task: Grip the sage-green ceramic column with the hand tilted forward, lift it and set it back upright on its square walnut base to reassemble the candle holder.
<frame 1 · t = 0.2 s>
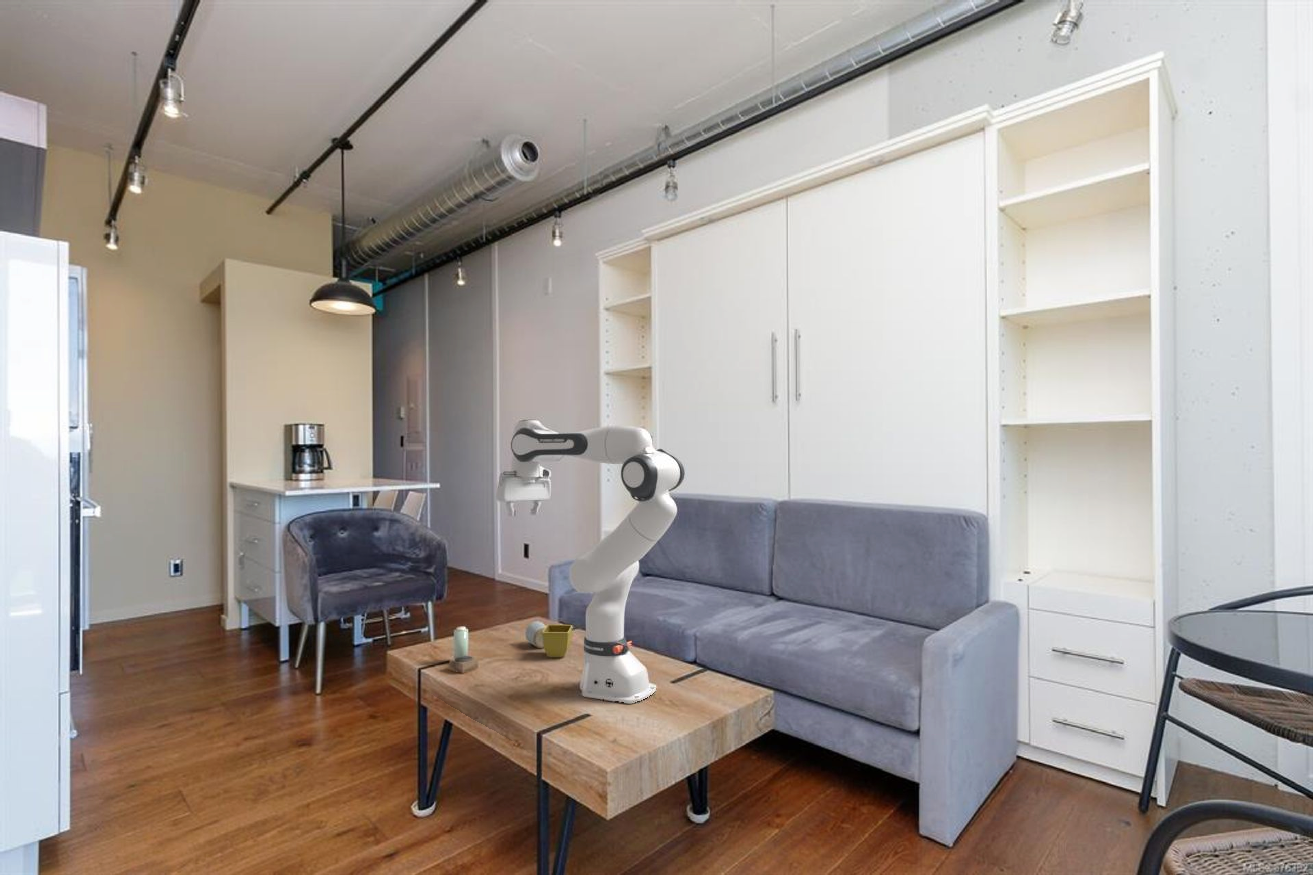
hand: (523, 515, 202), 48 cm above the table, tool pointing down, fingers open, 8 cm apart
column: (460, 661, 207), on the table
ceramic mug: (542, 645, 225), on the table
base: (463, 669, 200), on the table
flower pot: (557, 656, 214), on the table
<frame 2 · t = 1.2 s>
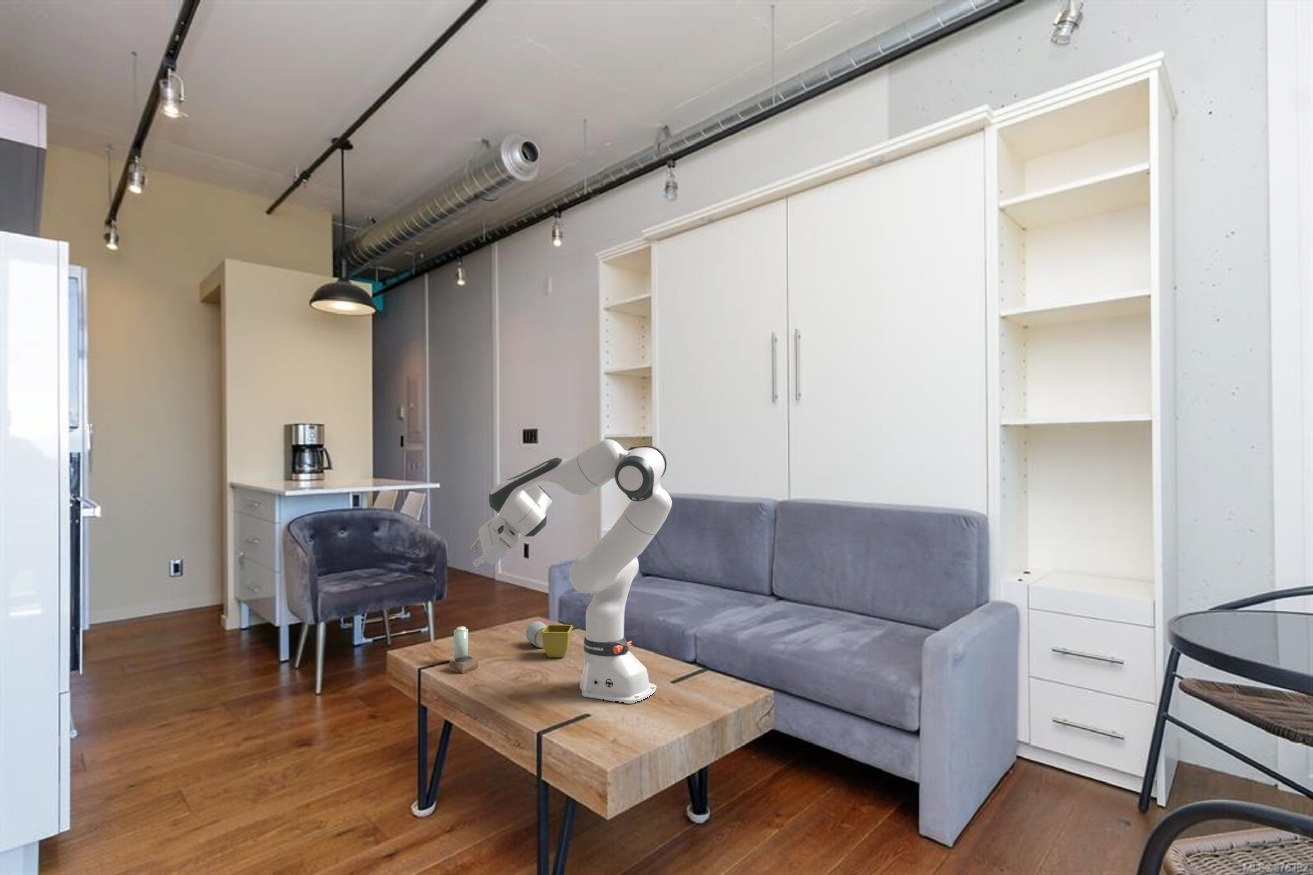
hand: (472, 557, 198), 35 cm above the table, tool tilted 50°, fingers open, 8 cm apart
nothing on the table moved.
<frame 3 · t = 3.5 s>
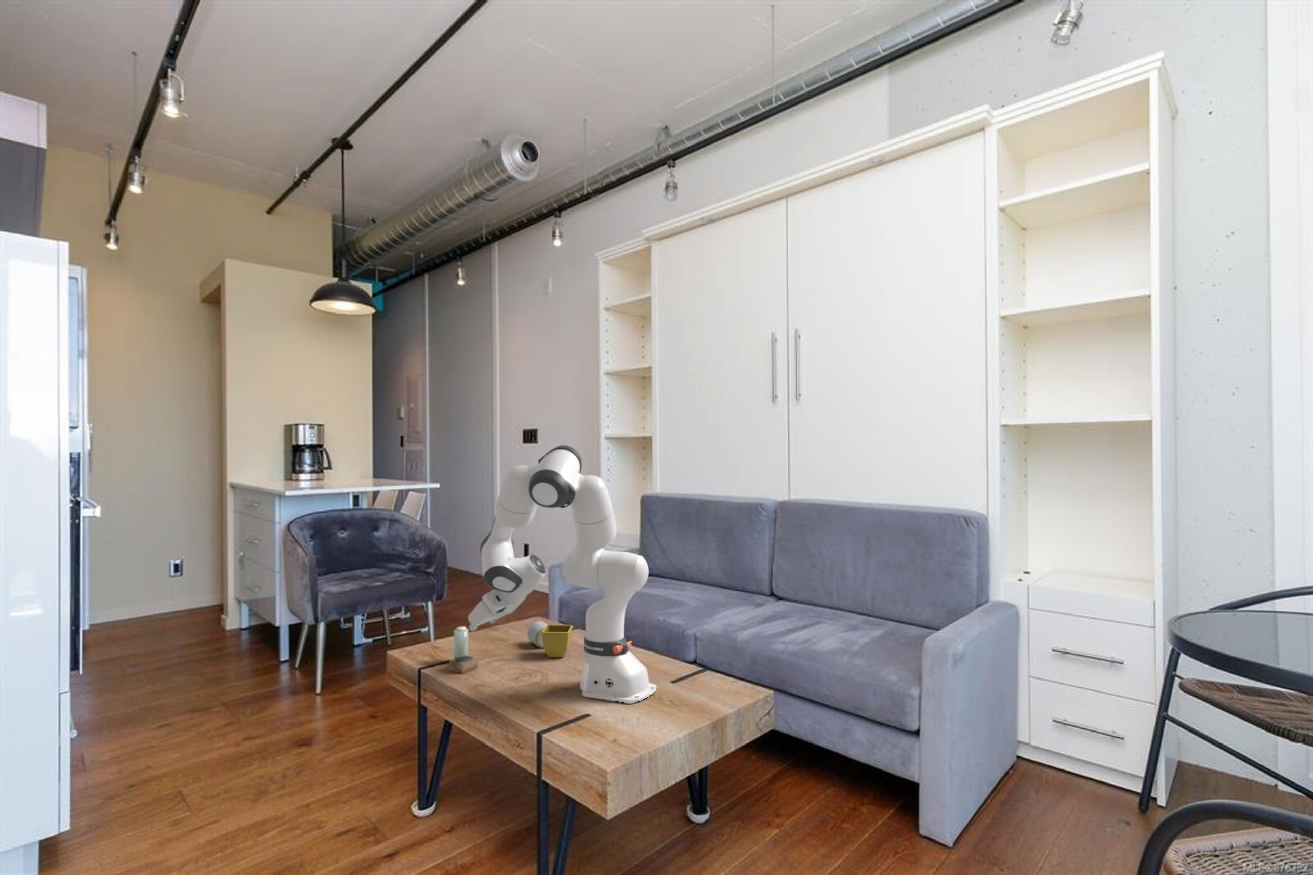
hand: (481, 625, 203), 13 cm above the table, tool tilted 45°, fingers open, 8 cm apart
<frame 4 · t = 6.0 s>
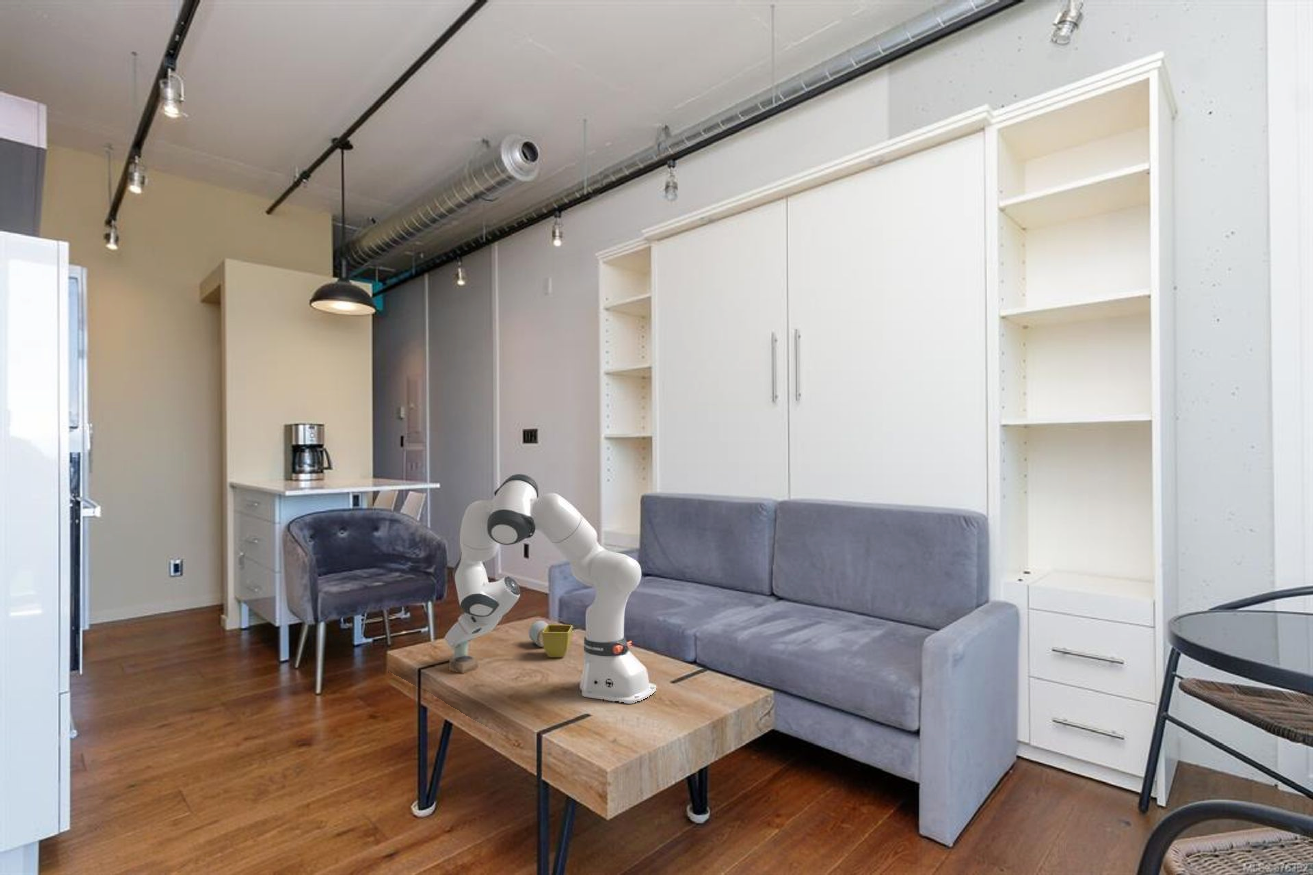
hand: (459, 644, 208), 5 cm above the table, tool tilted 45°, fingers closed on column, 4 cm apart
column: (460, 661, 207), on the table, touching gripper
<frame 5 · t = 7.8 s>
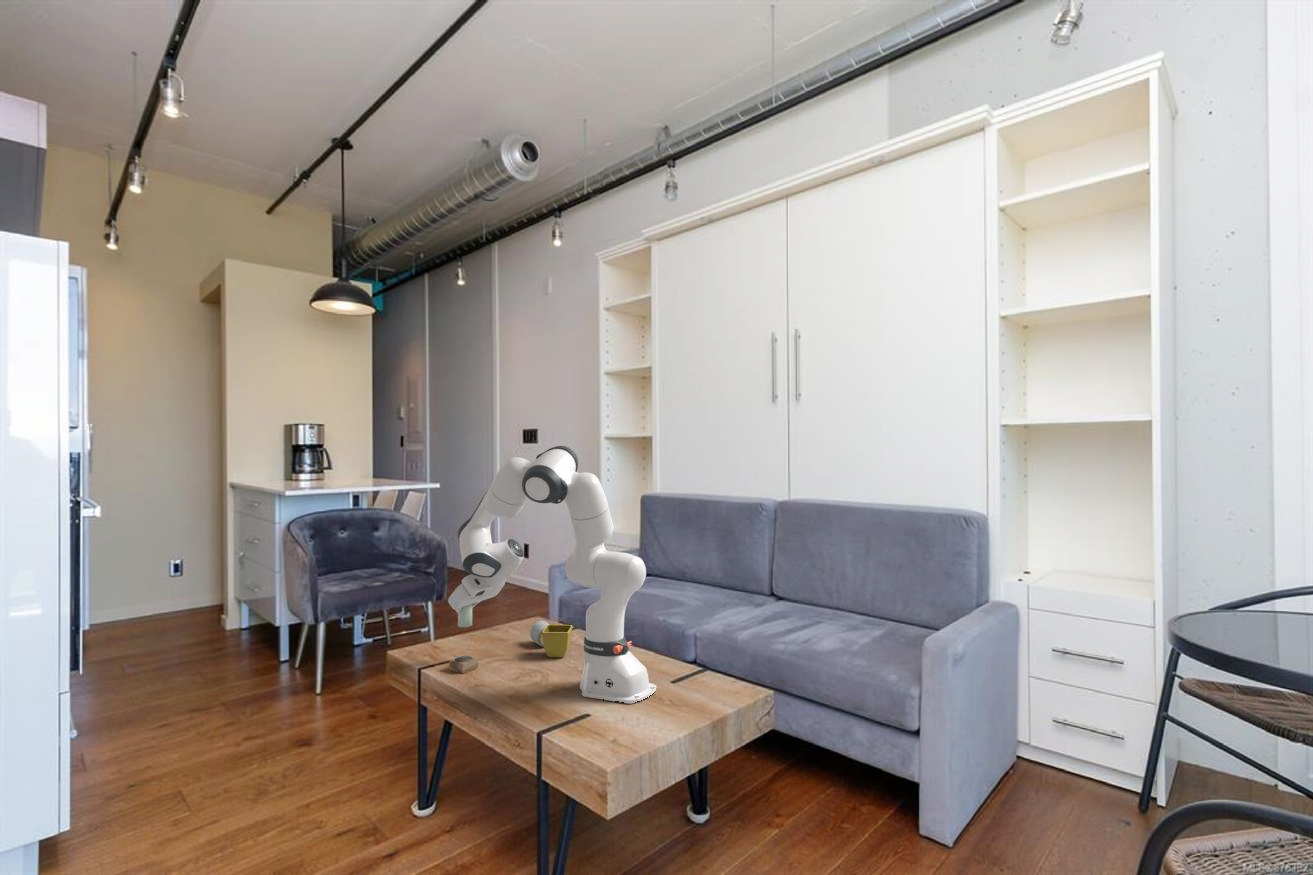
hand: (463, 608, 206), 17 cm above the table, tool tilted 45°, fingers closed on column, 4 cm apart
column: (465, 625, 206), point 12 cm above the table, touching gripper
when the fingers open (9 cm above the table, at t = 10.1 s): column stays where it is, resting on base.
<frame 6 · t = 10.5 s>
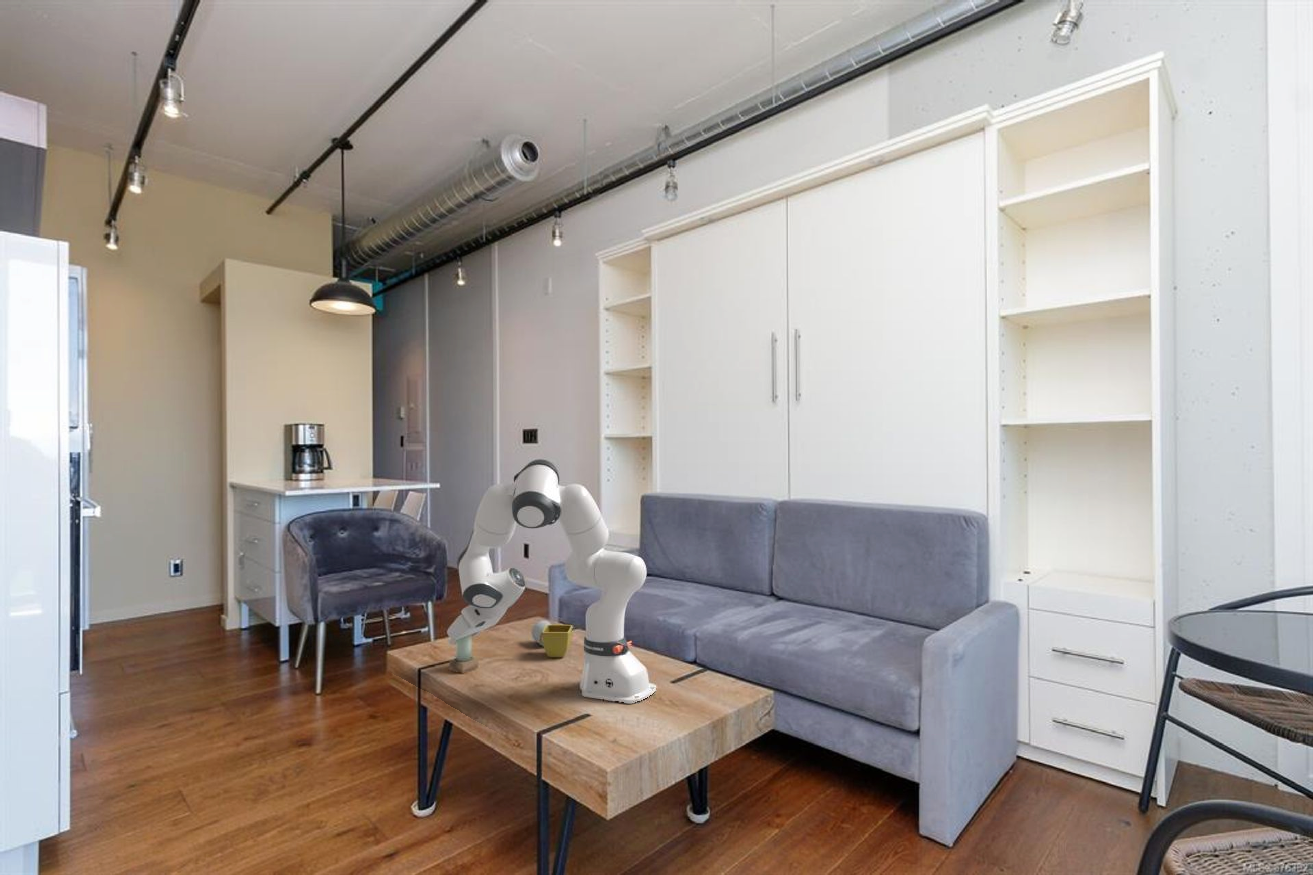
hand: (462, 638, 200), 9 cm above the table, tool tilted 45°, fingers open, 8 cm apart
column: (463, 658, 200), point 3 cm above the table, touching base
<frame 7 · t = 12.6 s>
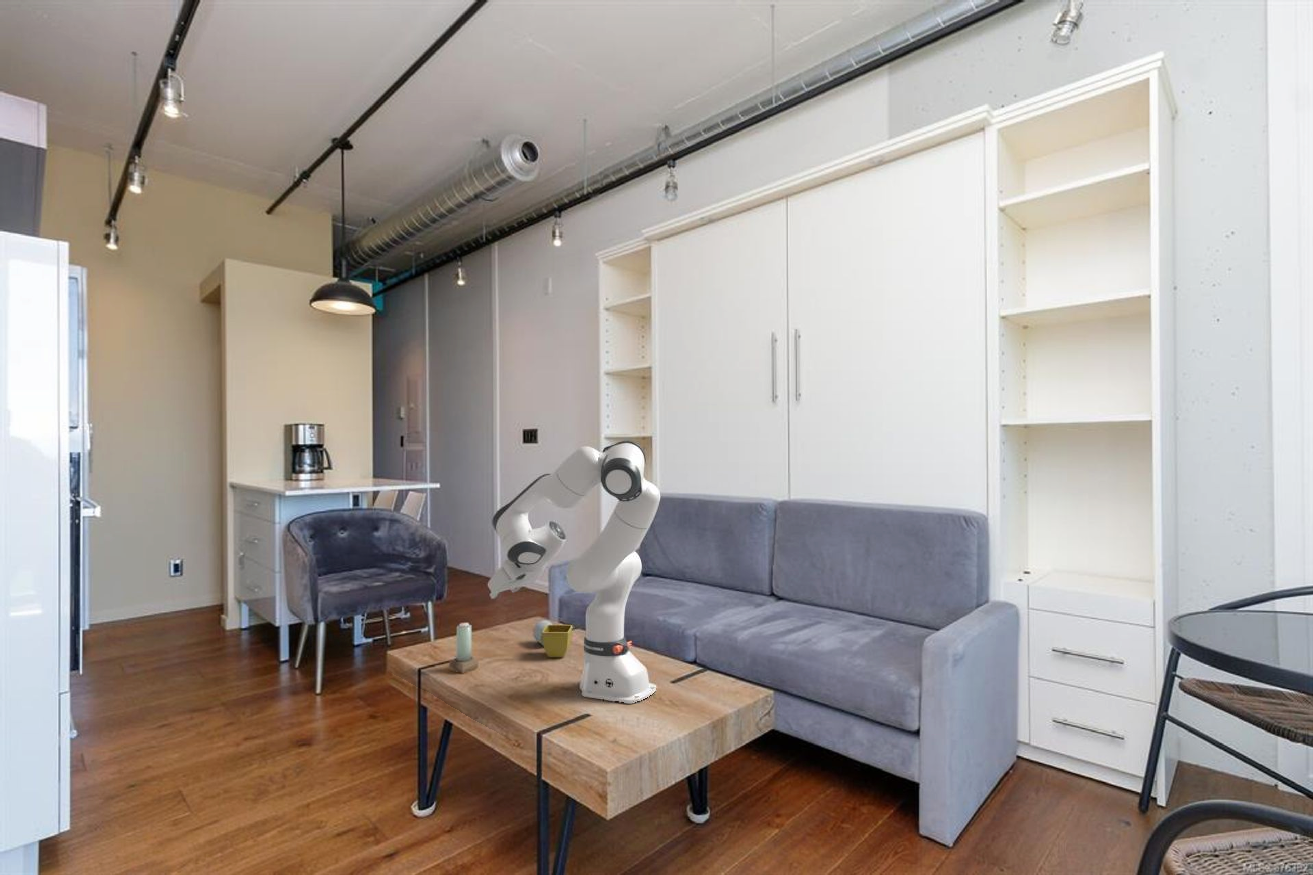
hand: (502, 593, 199), 24 cm above the table, tool tilted 45°, fingers open, 8 cm apart
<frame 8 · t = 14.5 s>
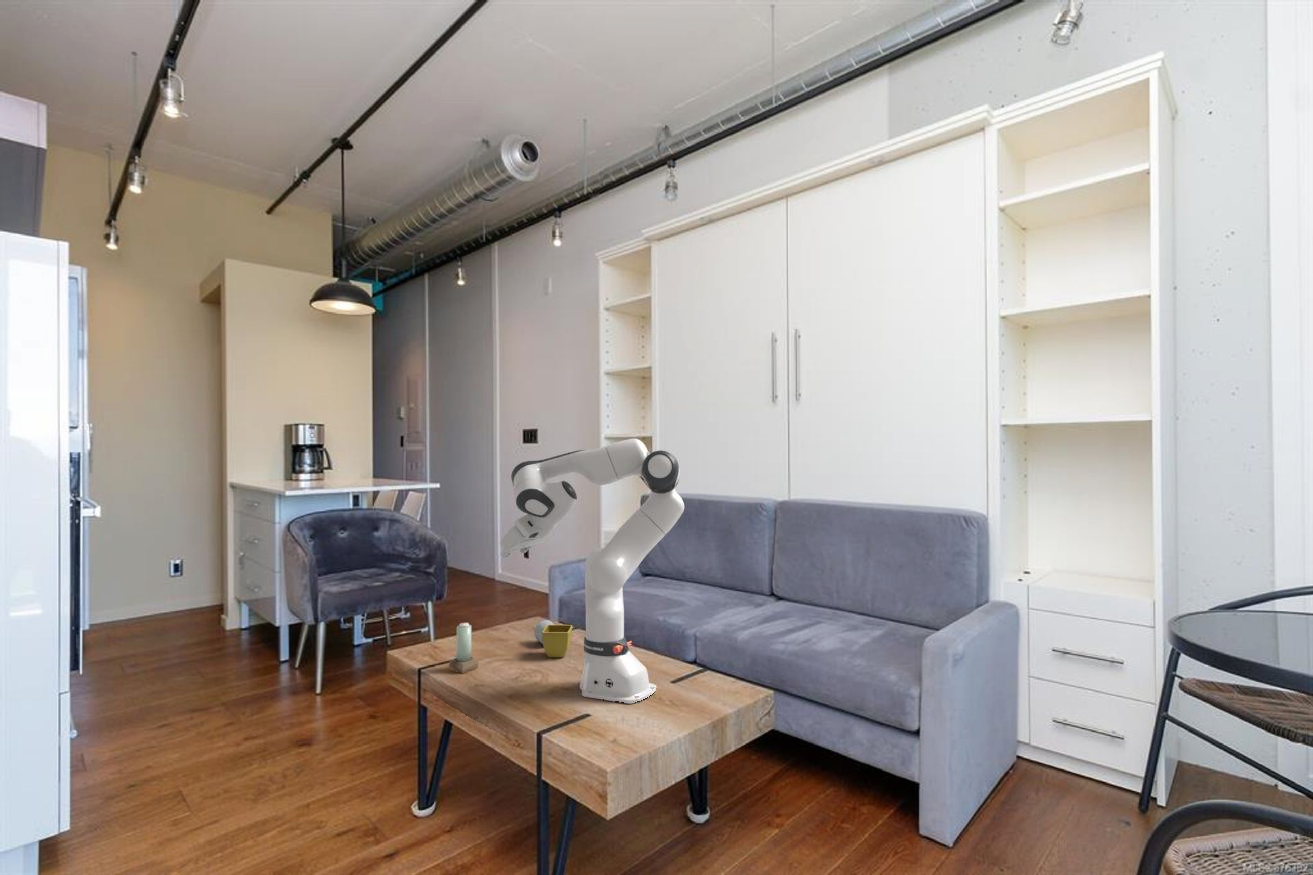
hand: (513, 553, 203), 35 cm above the table, tool tilted 45°, fingers open, 8 cm apart
at the end: column 0.0 cm off-centre on the base, point 3.1 cm above the base's base; column tilted 0°; the gripper is holding nothing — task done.
